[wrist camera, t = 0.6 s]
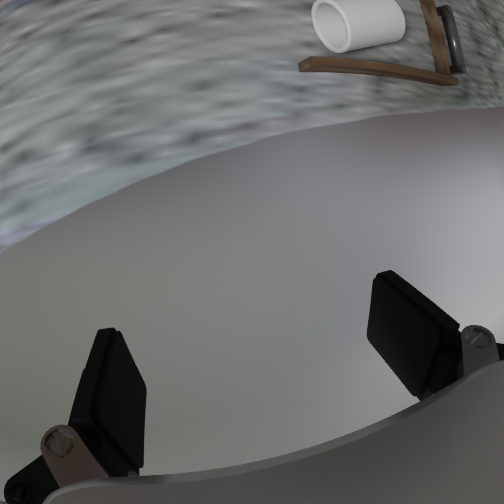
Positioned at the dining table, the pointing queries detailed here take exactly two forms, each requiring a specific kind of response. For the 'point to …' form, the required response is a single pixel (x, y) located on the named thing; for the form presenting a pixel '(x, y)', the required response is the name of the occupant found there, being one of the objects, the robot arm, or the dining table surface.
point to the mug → (357, 23)
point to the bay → (404, 72)
